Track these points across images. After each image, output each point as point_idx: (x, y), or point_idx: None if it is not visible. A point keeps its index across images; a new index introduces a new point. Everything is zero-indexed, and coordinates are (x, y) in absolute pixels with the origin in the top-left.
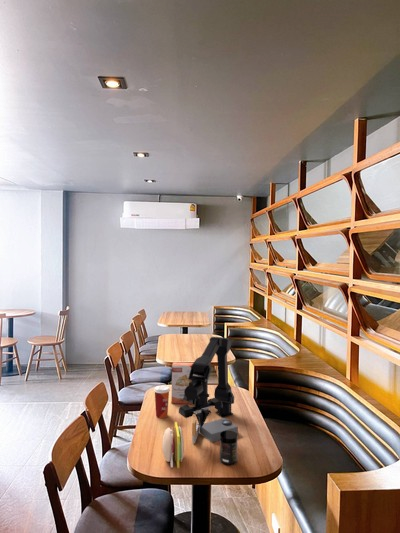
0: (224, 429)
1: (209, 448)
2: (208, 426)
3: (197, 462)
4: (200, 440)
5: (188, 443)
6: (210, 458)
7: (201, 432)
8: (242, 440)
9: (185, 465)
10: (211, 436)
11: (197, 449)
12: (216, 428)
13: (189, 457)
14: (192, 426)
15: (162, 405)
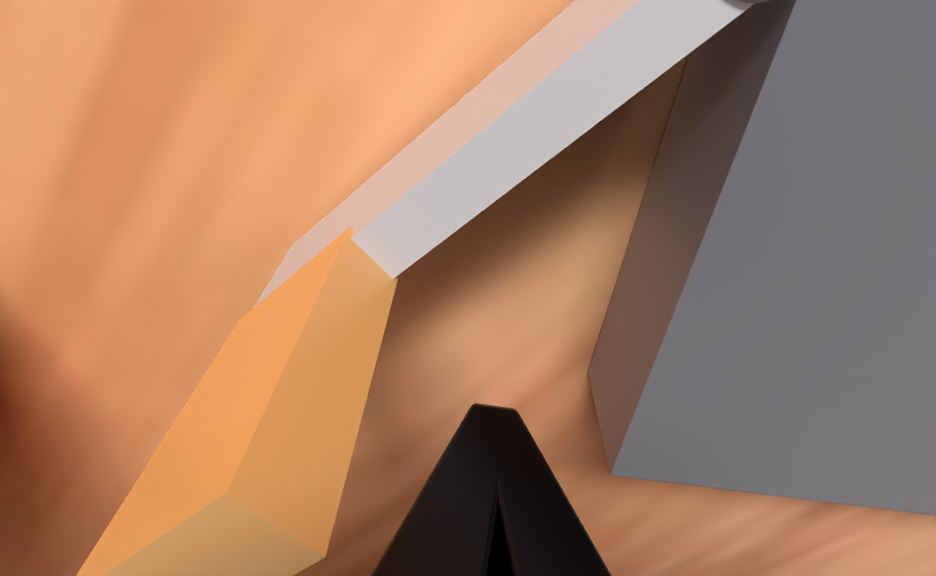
0: None
1: None
2: (880, 219)
3: None
4: (495, 229)
5: (250, 177)
6: (322, 562)
7: (699, 69)
8: (920, 545)
9: (3, 511)
10: (603, 441)
11: None
12: (893, 390)
13: (103, 443)
14: (131, 505)
15: None
